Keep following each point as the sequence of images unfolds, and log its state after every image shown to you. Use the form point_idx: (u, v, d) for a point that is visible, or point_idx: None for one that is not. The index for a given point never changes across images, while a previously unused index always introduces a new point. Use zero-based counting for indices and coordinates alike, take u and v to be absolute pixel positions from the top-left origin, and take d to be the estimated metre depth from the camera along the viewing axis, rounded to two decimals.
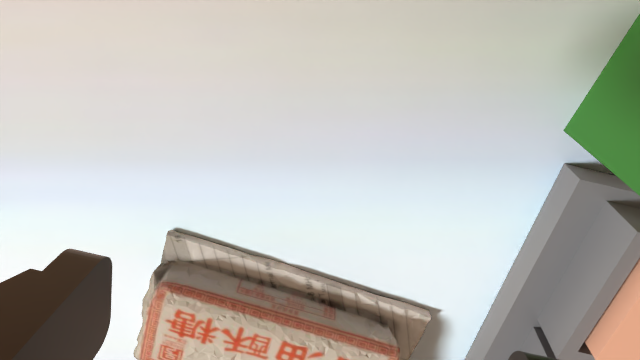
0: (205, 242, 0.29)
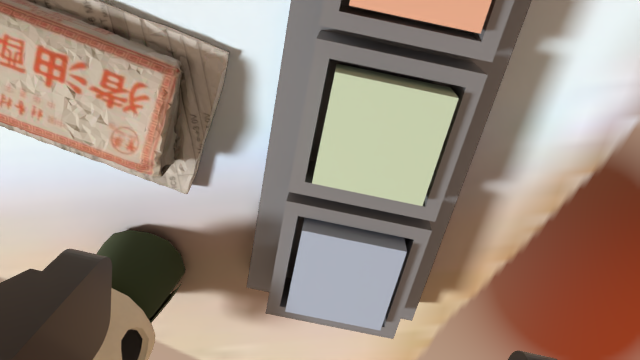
0: None
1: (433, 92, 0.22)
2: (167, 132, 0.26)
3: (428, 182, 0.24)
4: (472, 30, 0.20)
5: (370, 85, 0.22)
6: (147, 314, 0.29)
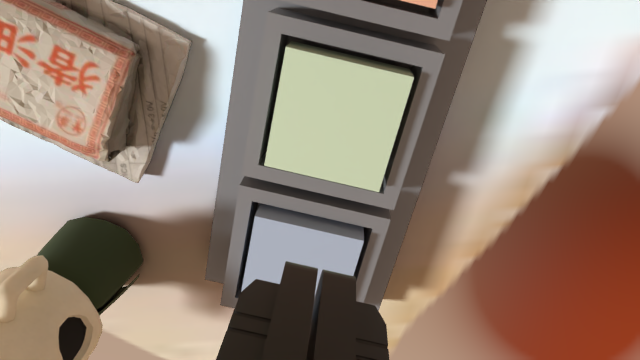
0: None
1: (388, 70, 0.21)
2: (117, 116, 0.25)
3: (384, 166, 0.23)
4: (426, 5, 0.20)
5: (322, 61, 0.21)
6: (96, 303, 0.28)
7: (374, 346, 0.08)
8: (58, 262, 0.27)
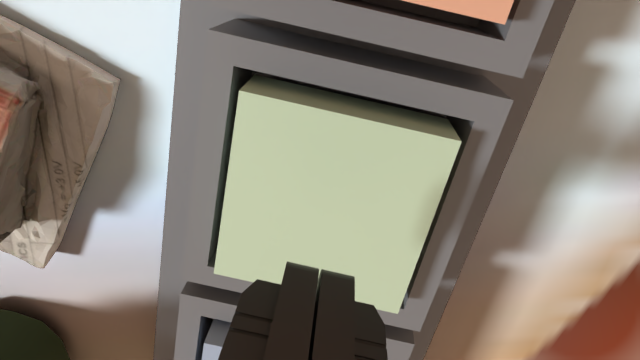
0: None
1: (416, 130, 0.12)
2: None
3: (407, 278, 0.14)
4: (489, 18, 0.11)
5: (303, 115, 0.12)
6: None
7: (373, 346, 0.08)
8: None
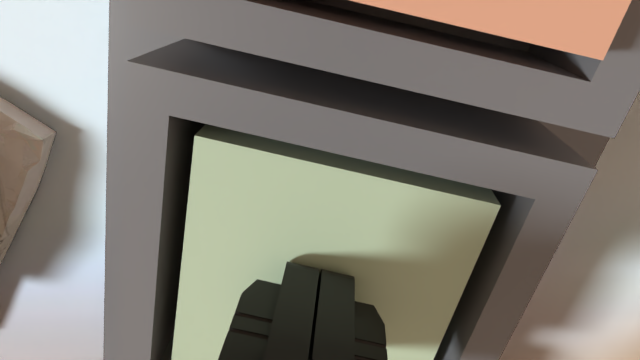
0: None
1: (438, 189, 0.09)
2: None
3: None
4: (578, 50, 0.06)
5: (283, 169, 0.09)
6: None
7: (373, 346, 0.08)
8: None
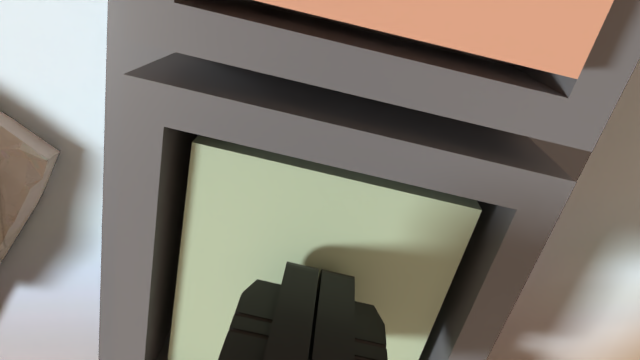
0: None
1: (423, 194, 0.09)
2: None
3: None
4: (554, 69, 0.07)
5: (276, 174, 0.09)
6: None
7: (373, 346, 0.08)
8: None
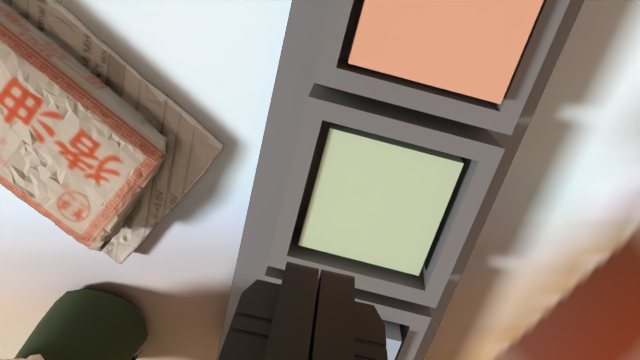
0: None
1: (436, 155, 0.20)
2: (125, 213, 0.23)
3: (426, 251, 0.21)
4: (491, 100, 0.17)
5: (367, 144, 0.20)
6: None
7: (373, 346, 0.08)
8: (55, 349, 0.24)
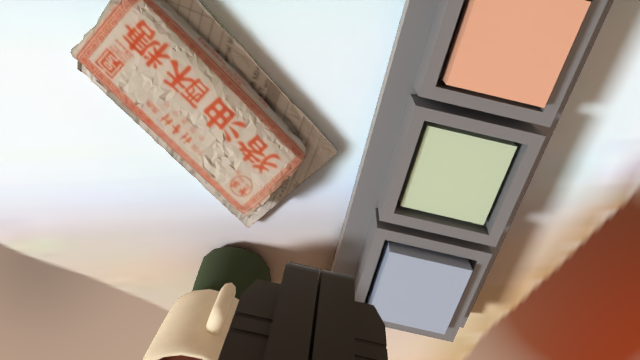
0: None
1: (498, 142, 0.29)
2: (274, 193, 0.33)
3: (489, 207, 0.31)
4: (538, 105, 0.27)
5: (452, 135, 0.29)
6: None
7: (373, 346, 0.08)
8: (223, 285, 0.35)
